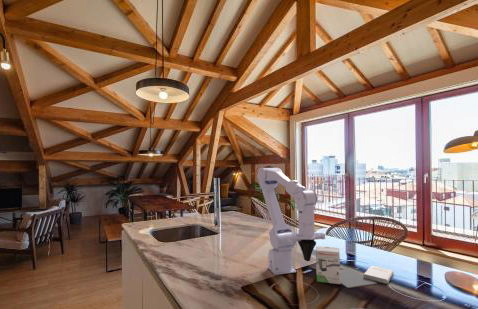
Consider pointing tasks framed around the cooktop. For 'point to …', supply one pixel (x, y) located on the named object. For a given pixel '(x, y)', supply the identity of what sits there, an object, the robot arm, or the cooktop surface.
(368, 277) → the external hard drive
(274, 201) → the robot arm
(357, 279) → the mat
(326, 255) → the ink box
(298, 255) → the cooktop surface
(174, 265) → the cooktop surface
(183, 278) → the cooktop surface
